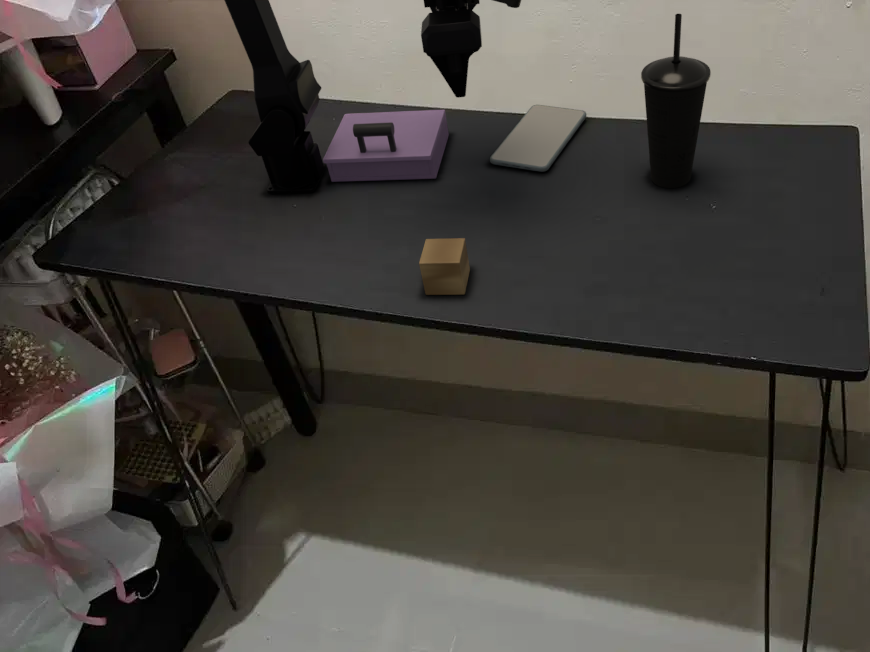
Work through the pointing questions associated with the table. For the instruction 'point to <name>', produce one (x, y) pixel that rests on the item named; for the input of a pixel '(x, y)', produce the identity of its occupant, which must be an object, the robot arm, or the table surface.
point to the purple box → (392, 166)
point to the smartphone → (538, 138)
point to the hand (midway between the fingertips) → (460, 78)
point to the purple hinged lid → (385, 136)
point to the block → (445, 266)
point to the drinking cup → (674, 113)
